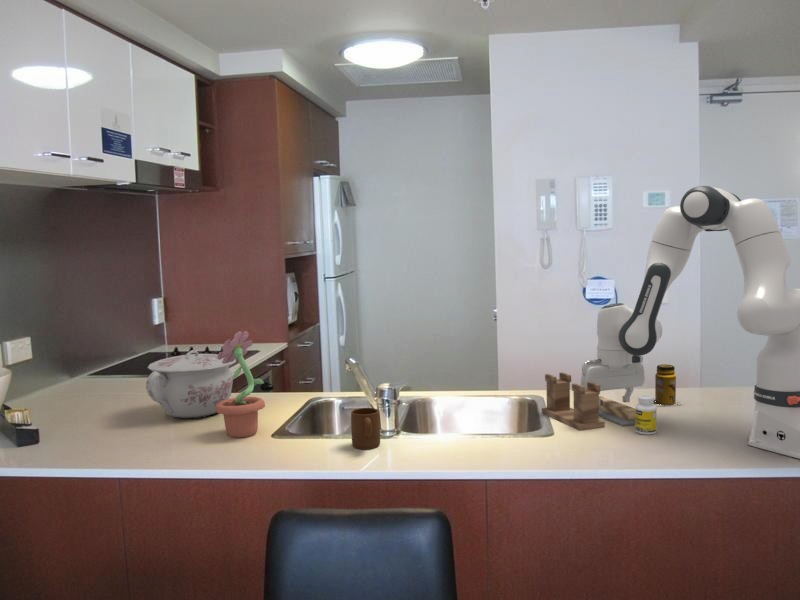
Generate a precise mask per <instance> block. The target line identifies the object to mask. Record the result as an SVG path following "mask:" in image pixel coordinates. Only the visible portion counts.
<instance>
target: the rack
mask: <svg viewBox="0 0 800 600" xmlns="http://www.w3.org/2000/svg"><path fill="white" fill-rule="evenodd" d="M558 375H559V376H558V377H559V378H557V376H555V375H552V374H550V373H545V374H544V381H545V383H546V407H541V414H543V413H544V414H543V415H545V414H546V415H545V416H547V415H548V417H549V418H552V419H554V420H556V421H558V422H561V423H563V424H565V425H567V426H569V427H571V428H574V429H576V430H577V431H587V430H592V429H599V428H605V424H606V423H605V421H604V420H601V419H600V417H599V396H600V395H599V392H600V393H601V391H600V385H598V384H595V383H592V382H587V389H585V387H584V386H581V384H578V383H571V382H572V375H571V374H568V373H565V372H562V371H561V372H559V374H558ZM570 383H571V384H570ZM570 390H571V391H572V393H573V394H572V395H573V408H572V407H571V391H570Z"/></svg>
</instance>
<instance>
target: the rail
mask: <svg viewBox="0 0 800 600" xmlns="http://www.w3.org/2000/svg"><path fill="white" fill-rule="evenodd" d="M599 397H600V399H602V400H603V405H601V406H599V409H600V410H602V411H605V412H607V413H610V414H612V415H615V416H617V417H620V418H622V419H625V420H628V421H634V420H636V407H635V408H634V407H631V406H629V405H627V404H623V403H621V402H618V401H615V400H612V399H609V398H607V397H604V396H601V395H599Z"/></svg>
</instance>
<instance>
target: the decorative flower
mask: <svg viewBox="0 0 800 600" xmlns="http://www.w3.org/2000/svg"><path fill="white" fill-rule="evenodd" d="M248 338H249V332H248V331H246V330H245V331H244V332H243V331H238V332H236V333H235V334H234V335H233V339H232V340H231V339H227V340H225V341H224V344H223V345H222V348H221V349H222V351H219V353H218V359H219V360H220V359H222V358H223V361H222V363H223V364H225V363H229V362H233V361H234V360H235V359H236V360H237V362H238V364H239V365H240V366H239V367H238V368H237V369H236V370H235V371H234V372H233V373H232V379H235V378H237V377H238V376H239V375H240V374H241V372H242V371H243V374H244V375H245V377H246V381H247V388H246V389H245V390H242V391H241V392H240V393H239V394H237V395H236V397H232V398H231V397H230V398H229V399H226V400H223V401H220V402H219V403H217V404H216V407H215V412H217V413H216V414H221V415H223V420H224V427H225V433H226V436H228V437H230V438H234V439H235V438H238V439H239V438H247V437H252V436H254V435H255V434H256V433H257V432H258V429H259V428H258V427H259V422H258V421H259V420H258V419H259V414H258V412H259V411H260V410H263V409H264V408H265V407H266V402H265V401H264V399H262V398H261V397H256V396H249V395H251V394H252V393H253V391H254V387H255V384H257V385H262V384H265V382H264V380H263V379H261V378H254V376H253V375H252V374H253V373H252V372H251V370H250V367H249V366H248V364H247V362H246V360H245V358H244V356H245V355H246V354H247V353H248V350H247V349H248V348H250V347H252V345H253V340H252V339H249V340H247V339H248ZM246 340H247V341H246ZM224 357H225V358H224Z"/></svg>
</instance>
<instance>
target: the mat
mask: <svg viewBox="0 0 800 600" xmlns="http://www.w3.org/2000/svg"><path fill="white" fill-rule="evenodd" d="M599 418H602V419H604V420H606V421H608V422H611V423H614V424H616V425H619V426H621V427H628V426H635V423H636V420H634V421H628V420H625V419H622V418H620V417H617V416H615V415H612V414H610V413H607V412H605V411H602V410H600V409H599Z"/></svg>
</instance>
